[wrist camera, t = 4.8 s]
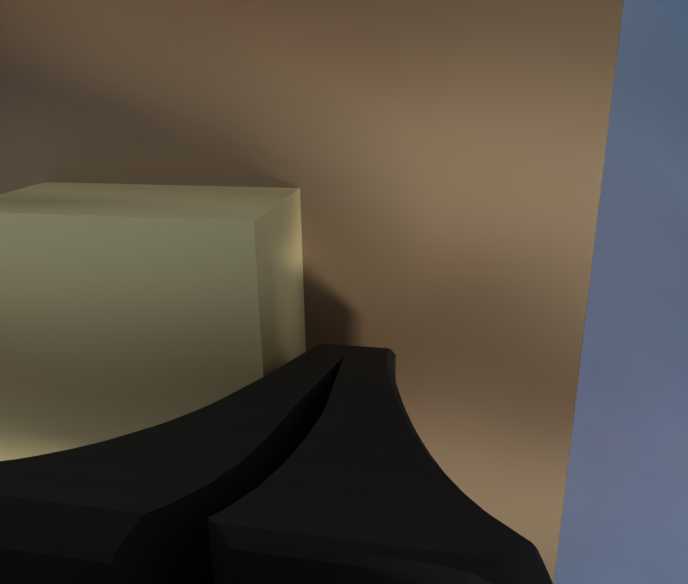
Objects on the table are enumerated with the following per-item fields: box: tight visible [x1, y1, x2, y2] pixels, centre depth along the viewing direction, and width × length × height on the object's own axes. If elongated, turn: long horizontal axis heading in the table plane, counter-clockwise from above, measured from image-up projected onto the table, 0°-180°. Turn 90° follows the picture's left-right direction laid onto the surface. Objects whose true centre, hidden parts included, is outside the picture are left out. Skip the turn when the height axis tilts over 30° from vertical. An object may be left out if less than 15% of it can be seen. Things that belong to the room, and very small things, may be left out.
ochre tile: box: [0, 182, 306, 461], centre depth 12 cm, size 7×5×2 cm
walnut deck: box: [0, 0, 623, 584], centre depth 14 cm, size 14×14×3 cm
